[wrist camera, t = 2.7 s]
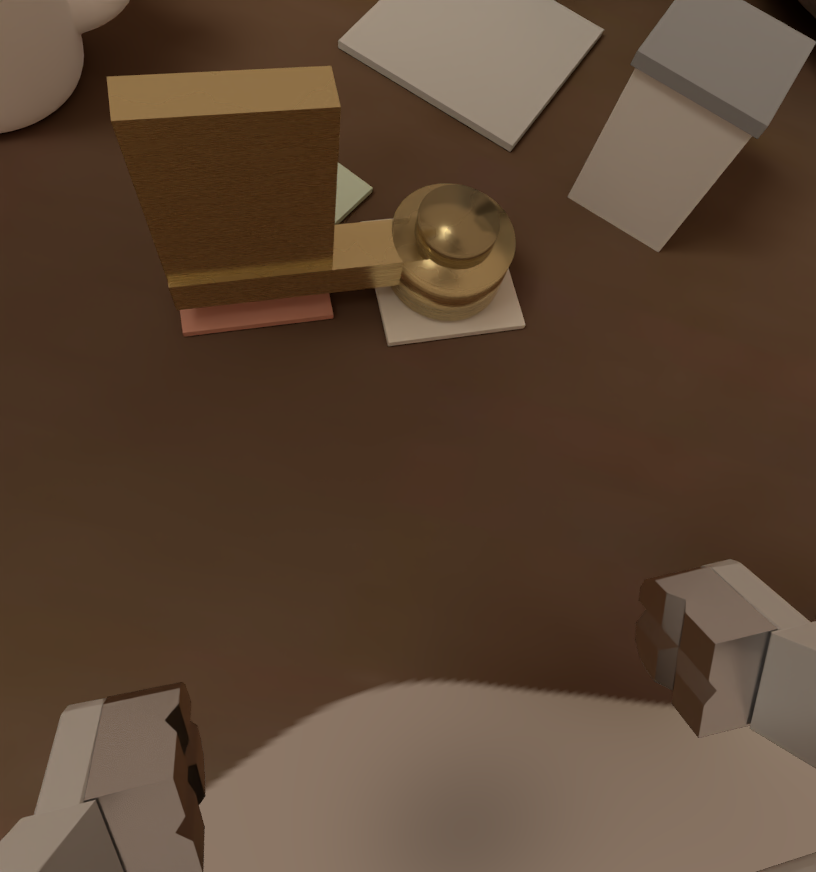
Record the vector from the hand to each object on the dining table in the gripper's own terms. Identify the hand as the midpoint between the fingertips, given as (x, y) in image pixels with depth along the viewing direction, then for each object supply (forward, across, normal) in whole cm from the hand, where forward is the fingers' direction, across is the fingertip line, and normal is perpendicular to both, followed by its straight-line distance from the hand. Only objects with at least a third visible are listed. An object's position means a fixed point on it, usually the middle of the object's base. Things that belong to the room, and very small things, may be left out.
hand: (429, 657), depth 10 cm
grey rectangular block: (+24, -17, -3) cm, 29 cm away
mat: (+30, -12, -10) cm, 34 cm away
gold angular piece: (+21, -2, -1) cm, 21 cm away
